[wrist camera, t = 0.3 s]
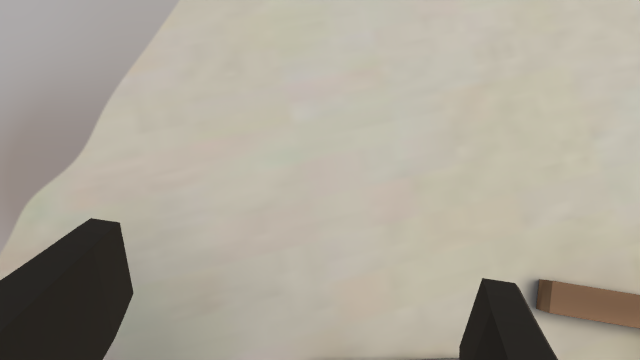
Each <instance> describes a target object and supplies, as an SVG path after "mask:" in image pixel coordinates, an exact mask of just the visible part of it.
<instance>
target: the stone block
mask: <svg viewBox="0 0 640 360" xmlns="http://www.w3.org/2000/svg"><path fill="white" fill-rule="evenodd" d="M424 360H459V359H457V358H451V359H424Z"/></svg>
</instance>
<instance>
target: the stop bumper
mask: <svg viewBox="0 0 640 360" xmlns="http://www.w3.org/2000/svg"><path fill="white" fill-rule="evenodd" d="M536 309H539V310H542V311H545V312H548V313H553V314H559V315H565V316H571V317H577V318H583V319H588V320H594V321H600V322H606V323H612V324H618V325H624V326H630V327H635V328H640V295H636V294H629V293H623V292H617V291H611V290H605V289H599V288H593V287H587V286H580V285H574V284H568V283H562V282H556V281H549V280H540V279H539V288H538V297H537V305H536Z"/></svg>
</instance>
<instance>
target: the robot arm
mask: <svg viewBox="0 0 640 360" xmlns="http://www.w3.org/2000/svg"><path fill="white" fill-rule="evenodd" d="M132 295H133V289H132V283H131V278H130V273H129V268H128V263H127V258H126V253H125V247H124V242H123V237H122V232H121V227H120V223H118V222H112V221H105V220H99V219H92V218H91V219H89V220H88V221H86V222H85V223H83V224H82V225H80V226H79V227H77V228H76V229H74V230H73V231H71V232H70V233H68V234H67V235H66V236H64V237H63V238H61V239H60V240H58V241H57V242H56V243H54V244H53V245H51V246H50V247H48V248H47V249H46V250H44V251H43V252H41V253H40V254H39V255H37V256H36V257H34V258H33V259H31V260H30V261H28V262H27V263H25V264H24V265H22V266H21V267H20V268H18V269H17V270H15V271H14V272H12V273H11V274H9V275H8V276H6V277H5V278H3V279H2V280H0V360H103V358H104V356H105V355H106V353H107V351H108V349H109V347H110V346H111V344H112V342H113V340H114V338H115V336H116V334H117V332H118V329H119V327H120V325H121V322H122V320H123V318H124V315H125V313H126V310H127V308H128V305H129V303H130V300H131V298H132ZM459 360H558V359H557V357H556V355H555V354H554V352H553V350H552V348H551V347H550V345H549V343H548V341H547V340H546V338H545V336H544V334H543V332H542V331H541V329H540V327H539V325H538V323H537V321H536V320H535V318H534V316H533V314H532V312H531V310H530V308H529V306H528V305H527V303H526V301H525V299H524V297H523V295H522V293H521V291H520V289H519V288H518V286H517V285H516V284H515V283H510V282H504V281H497V280H491V279H484V278H482V281H481V284H480V287H479V290H478V293H477V296H476V299H475V302H474V305H473V308H472V311H471V314H470V317H469V320H468V323H467V326H466V329H465V332H464V335H463V338H462V341H461V344H460V353H459Z"/></svg>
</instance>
